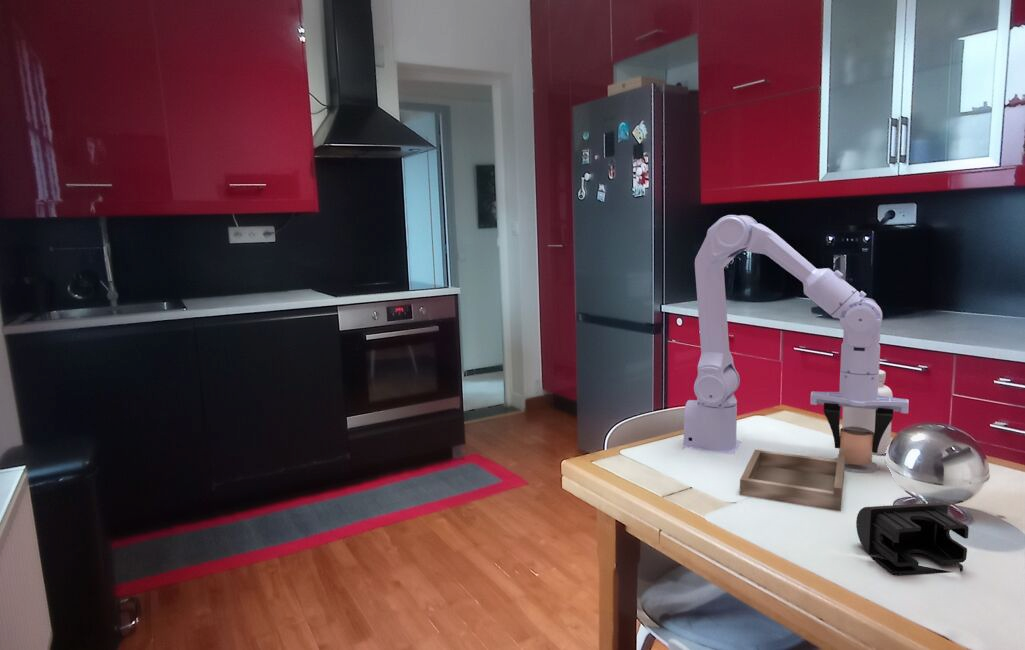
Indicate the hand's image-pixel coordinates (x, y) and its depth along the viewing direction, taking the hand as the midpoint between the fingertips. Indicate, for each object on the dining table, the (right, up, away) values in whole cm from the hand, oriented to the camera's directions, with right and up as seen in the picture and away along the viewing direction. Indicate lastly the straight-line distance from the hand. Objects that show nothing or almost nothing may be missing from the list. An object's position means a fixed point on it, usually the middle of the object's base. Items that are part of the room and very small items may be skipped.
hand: (855, 448), depth 108 cm
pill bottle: (+7, -2, +10) cm, 12 cm away
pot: (0, -2, 0) cm, 2 cm away
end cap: (-9, -8, -29) cm, 31 cm away
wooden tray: (-14, -5, -7) cm, 16 cm away
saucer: (0, -4, 0) cm, 4 cm away
